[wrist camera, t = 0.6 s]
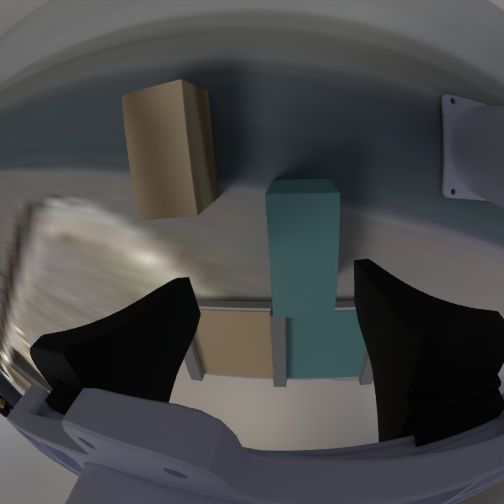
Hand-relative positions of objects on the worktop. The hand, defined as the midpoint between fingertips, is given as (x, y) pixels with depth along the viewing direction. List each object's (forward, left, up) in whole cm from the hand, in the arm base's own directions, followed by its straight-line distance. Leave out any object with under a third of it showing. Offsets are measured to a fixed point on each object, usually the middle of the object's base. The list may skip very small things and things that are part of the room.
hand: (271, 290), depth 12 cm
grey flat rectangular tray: (+1, +11, -9) cm, 15 cm away
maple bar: (+7, -6, -10) cm, 13 cm away
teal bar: (-1, +1, -10) cm, 10 cm away
